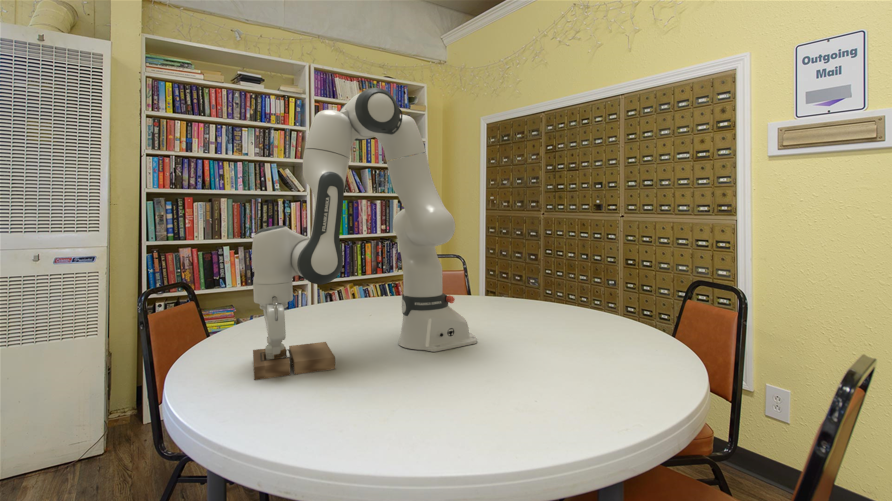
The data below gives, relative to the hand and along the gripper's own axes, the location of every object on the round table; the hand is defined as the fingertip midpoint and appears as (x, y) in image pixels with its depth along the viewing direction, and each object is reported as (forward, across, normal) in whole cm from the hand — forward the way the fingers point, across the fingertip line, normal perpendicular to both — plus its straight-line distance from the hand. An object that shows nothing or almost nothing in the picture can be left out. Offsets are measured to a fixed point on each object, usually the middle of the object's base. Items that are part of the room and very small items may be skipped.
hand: (275, 350), depth 114 cm
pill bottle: (+4, 0, 0) cm, 5 cm away
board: (+4, 0, -4) cm, 6 cm away
